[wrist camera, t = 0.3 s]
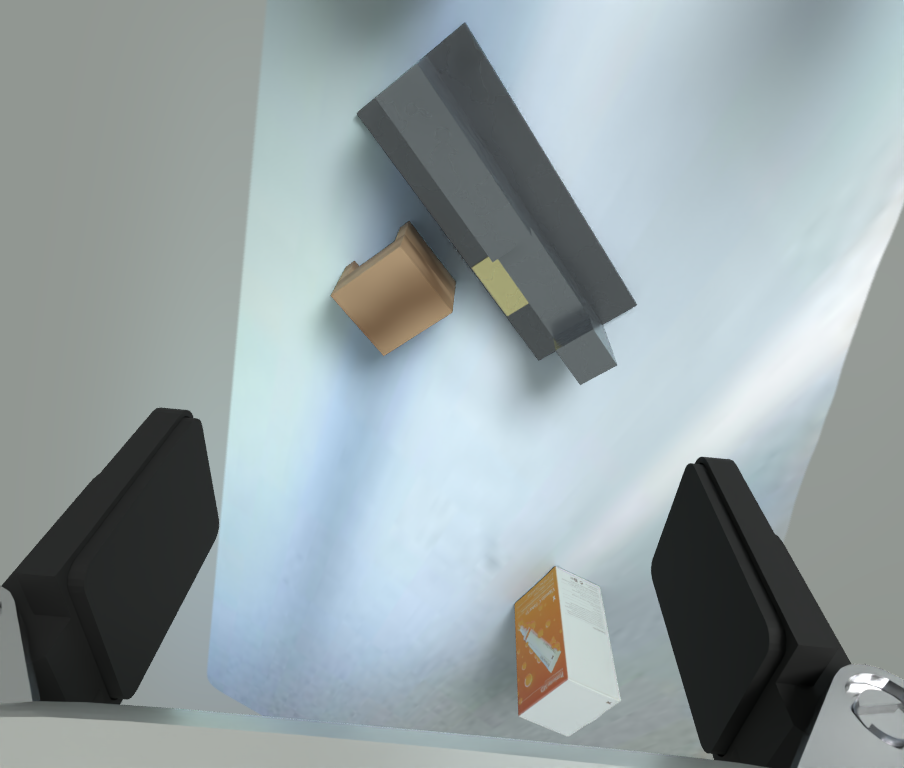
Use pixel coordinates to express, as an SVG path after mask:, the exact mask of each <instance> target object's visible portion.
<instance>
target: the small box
mask: <svg viewBox="0 0 904 768" xmlns="http://www.w3.org/2000/svg"><path fill="white" fill-rule="evenodd" d="M515 630H516V659H517V687H518V716H519V717H521V718H523V719H526V720H528V721H531V722H533V723H536V724H538V725H541V726H543V727H546V728H548V729H550V730H553V731H555V732H558V733H560V734H563V735H565V736H567V737H568V736H570V735H572V734H573V733H575V732H576V731H578V730H579V729H581V728H582V727H584V726H585V725H587V724H589V723H591V722H593V721H594V720H596V719H597V718H599V717H600V716H601V715H602V714H603V713H604V712H606V711H607V710H609V709H610V708H612V707H613V706H615V705H616V704H618V703H619V702H621V698H620V693H619V687H618V682H617V676H616V671H615V666H614V660H613V655H612V649H611V644H610V639H609V633H608V628H607V622H606V617H605V611H604V606H603V601H602V595H601V590H600V587H599V586H597V585H595V584H593V583H591V582H589V581H587V580H585V579H582V578H580V577H578V576H576V575H574V574H572V573H570V572H567V571H565V570H563V569H561V568H559V567H556V566H555V567H554V568H553V569H552V570H551V571H550V572H549V573H548V574H547V575H546V576H545V577H544V578H543V579H542V580H540V581H539V582H538V583H537V584H536V585H535V586H534V587H533V588H532V589H531V590H530V591H528V592H527V593H526V594H525V595H524V596H523V597H522V598H521V599H520V600H518V601H517V602H516V603H515Z"/></svg>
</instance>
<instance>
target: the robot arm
mask: <svg viewBox="0 0 904 768" xmlns="http://www.w3.org/2000/svg"><path fill="white" fill-rule="evenodd" d="M218 529H219V518H218V512H217V507H216V501H215V496H214V490H213V484H212V479H211V473H210V467H209V461H208V456H207V451H206V444H205V440H204V433H203V428H202V423H201V421H200V420H199V419H196V418H193V415H192V413H191V412H190V411H188V410H180V409H168V408H156V409H155V410H154V411H153V412H152V413H151V414H150V415H149V417H148V418H147V419H146V420H145V421H144V422H143V424H142V425H141V426H140V427H139V428H138V429H137V431H136V432H135V433H134V434H133V435H132V437H131V438H130V439H129V440H128V441H127V442H126V444H125V445H124V446H123V447H122V448H121V450H120V451H119V452H118V453H117V454H116V455H115V456H114V458H113V459H112V460H111V461H110V462H109V463H108V465H107V466H106V467H105V468H104V469H103V470H102V472H101V473H100V474H99V475H97V476H96V477H95V478H94V479H93V480H92V481H91V482H90V483H89V484H88V485H87V487H86V488H85V489H84V490H83V491H82V492H81V494H80V495H79V496H78V497H77V498H76V499H75V501H74V502H73V503H72V504H71V505H70V506H69V508H68V509H67V510H66V511H65V512H64V514H63V515H62V516H61V517H60V518H59V519H58V520H57V522H56V523H55V524H54V525H53V526H52V527H51V529H50V530H49V531H48V532H47V533H46V535H45V536H44V537H43V538H42V539H41V540H40V541H39V543H38V544H37V545H36V546H35V547H34V548H33V550H32V551H31V552H30V553H29V554H28V556H27V557H26V558H25V559H24V560H23V561H22V562H21V564H20V565H19V566H18V567H17V568H16V569H15V571H14V572H13V573H12V574H11V575H10V576H9V578H8V579H7V580H6V581H5V582H4V583H3V585H2V586H0V768H904V680H903V679H901V678H900V677H898V676H896V675H894V674H892V673H890V672H888V671H885V670H884V669H881V668H877V667H874V666H870V665H866V664H851V662H850V661H849V659H848V657H847V655H846V654H845V652H844V650H843V648H842V647H841V645H840V643H839V641H838V639H837V638H836V636H835V634H834V632H833V631H832V629H831V627H830V625H829V623H828V622H827V620H826V618H825V616H824V615H823V613H822V611H821V609H820V607H819V606H818V604H817V602H816V600H815V599H814V597H813V595H812V593H811V592H810V590H809V588H808V586H807V584H806V583H805V581H804V579H803V577H802V576H801V574H800V572H799V570H798V568H797V567H796V565H795V563H794V561H793V560H792V558H791V556H790V554H789V553H788V551H787V549H786V547H785V545H784V544H783V542H782V541H781V540H780V538H779V537H778V536H777V535H775V534H774V532H773V530H772V528H771V526H770V525H769V523H768V521H767V519H766V517H765V516H764V514H763V512H762V510H761V509H760V507H759V505H758V503H757V501H756V500H755V498H754V496H753V494H752V492H751V491H750V489H749V487H748V485H747V483H746V482H745V480H744V478H743V476H742V474H741V473H740V471H739V469H738V467H737V465H736V464H735V463H734V461H732V460H730V459H720V458H709V457H700V458H698V459H697V460H696V462H695V464H691V463H690V464H688V465H687V466H686V468H685V471H684V473H683V476H682V479H681V482H680V485H679V487H678V490H677V493H676V496H675V498H674V501H673V504H672V507H671V510H670V512H669V515H668V518H667V521H666V524H665V526H664V529H663V532H662V535H661V537H660V540H659V543H658V546H657V549H656V551H655V554H654V557H653V560H652V565H651V574H652V580H653V584H654V587H655V590H656V594H657V597H658V601H659V604H660V607H661V611H662V614H663V618H664V621H665V624H666V628H667V631H668V635H669V638H670V641H671V645H672V648H673V652H674V655H675V658H676V662H677V665H678V669H679V672H680V675H681V679H682V682H683V686H684V689H685V692H686V696H687V699H688V703H689V706H690V709H691V713H692V716H693V720H694V723H695V726H696V730H697V733H698V737H699V740H700V743H701V746H702V748H703V749H704V751H705V752H706V753H711V754H713V758H714V760H709V759H701V758H692V757H684V756H675V755H666V754H658V753H649V752H640V751H630V750H619V749H609V748H599V747H589V746H579V745H569V744H558V743H548V742H538V741H528V740H518V739H507V738H497V737H487V736H476V735H465V734H454V733H444V732H433V731H422V730H412V729H401V728H390V727H379V726H368V725H357V724H347V723H336V722H325V721H313V720H302V719H290V718H279V717H268V716H256V715H245V714H233V713H221V712H210V711H199V710H187V709H174V708H161V707H146V706H132V705H120V703H121V702H122V700H123V699H130V698H131V697H132V696H133V695H134V694H135V692H136V690H137V689H138V687H139V685H140V683H141V681H142V679H143V677H144V675H145V673H146V671H147V669H148V668H149V666H150V664H151V662H152V660H153V658H154V656H155V654H156V652H157V650H158V649H159V647H160V645H161V643H162V641H163V639H164V637H165V635H166V633H167V631H168V629H169V627H170V625H171V624H172V622H173V620H174V618H175V616H176V614H177V612H178V610H179V608H180V606H181V604H182V603H183V600H184V599H185V597H186V595H187V593H188V591H189V589H190V587H191V585H192V583H193V582H194V580H195V578H196V575H197V574H198V572H199V570H200V568H201V566H202V564H203V562H204V560H205V558H206V557H207V555H208V553H209V551H210V549H211V547H212V545H213V543H214V541H215V539H216V537H217V534H218Z"/></svg>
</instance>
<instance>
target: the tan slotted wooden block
mask: <svg viewBox="0 0 904 768" xmlns="http://www.w3.org/2000/svg"><path fill="white" fill-rule="evenodd" d="M455 285H456V282H455V280H454V279H453V278H452V276H451V275H450V274H449V273H448V271H447V270H446V269H445V267H444V266H443V265H442V263H441V262H440V261H439V259H438V258H437V257H436V255H435V254H434V253H433V251H432V250H431V249H430V247H429V246H428V245H427V244H426V242H425V241H424V240H423V238H422V237H421V236H420V234H419V233H418V232H417V230H416V229H415V228H414V226H413V225H412V224H411V222H410V221H409V222H407V223H406V224H404V225H403V226H402V227H400V229H399V232H398V234H397V237H396V239H395V241H394V242H393V243H391V244H390V245H389V246H387V247H386V248H384V249H383V250H382V251H380V252H379V253H377V254H376V255H375V256H373V257H372V258H371V259H369V260H368V261H366V262H365V263H364V264H362V265H361V266H358V264H357V263H356V262H355V261H353V262H352V263H351V264H349V265H348V266H346V268H345V270H344V271H343V273H342V275H341V277H340V279H339V281H338V283H337V285H336V286H335V288H334V290H333V292H332V294H331V297H332V298H333V299H334V300H335V301H336V302H337V304H338V305H339V306H340V307H341V308H342V309H343V310H344V312H345V313H346V314H347V315H348V316H349V317H350V318H351V319H352V321H353V322H354V323H355V324H356V325H357V326H358V327H359V329H360V330H361V331H362V332H363V333H364V334H365V335H366V336H367V338H368V339H369V340H370V341H371V342H372V343H373V344H374V346H375V347H376V348H377V349H378V350H379V351H380V352H381V353H382V355H383V356H385V355H386V354H388V353H389V352H391V351H392V350H394V349H396V348H397V347H399V346H400V345H402V344H403V343H405V342H407V341H408V340H410V339H411V338H413V337H414V336H416V335H418V334H419V333H421V332H422V331H424V330H425V329H427V328H429V327H430V326H432V325H433V324H435V323H437V322H438V321H440V320H441V319H443V318H444V317H446V316H448V315H449V314H451V313H452V311H453V302H454V294H455Z"/></svg>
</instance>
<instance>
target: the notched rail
mask: <svg viewBox="0 0 904 768" xmlns="http://www.w3.org/2000/svg"><path fill="white" fill-rule="evenodd" d="M357 115H358V116H359V117H360V119H361V120H362V121H363V123H364V124H365V126H366V127H367V128H368V130H369V131H370V132H371V134H372V135H373V136H374V138H375V139H376V140H377V142H378V143H379V145H380V146H381V147H382V149H383V150H384V151H385V153H386V154H387V155H388V157H389V158H390V159H391V161H392V162H393V164H394V165H395V166H396V168H397V169H398V170H399V172H400V173H401V174H402V176H403V177H404V178H405V180H406V181H407V183H408V184H409V185H410V187H411V188H412V189H413V191H414V192H415V193H416V195H417V196H418V197H419V199H420V200H421V202H422V203H423V204H424V206H425V207H426V208H427V210H428V211H429V212H430V214H431V215H432V216H433V218H434V219H435V221H436V222H437V223H438V225H439V226H440V227H441V229H442V230H443V231H444V233H445V234H446V235H447V237H448V238H449V240H450V241H451V242H452V244H453V245H454V246H455V248H456V249H457V250H458V252H459V253H460V254H461V256H462V257H463V259H464V260H465V261H466V263H467V264H468V265H469V267H470V268H471V269H472V271H473V272H474V273H475V275H476V276H477V277H478V279H479V280H480V282H481V283H482V284H483V286H484V287H485V288H486V290H487V291H488V292H489V294H490V295H491V296H492V298H493V299H494V301H495V302H496V303H497V305H498V306H499V307H500V309H501V310H502V311H503V313H504V314H505V315H506V317H507V318H508V320H509V321H510V322H511V324H512V325H513V326H514V328H515V329H516V330H517V332H518V333H519V334H520V336H521V337H522V339H523V340H524V341H525V343H526V344H527V345H528V347H529V348H530V349H531V351H532V352H533V353H534V355H535V356H536V358H537V359H538V360H541V359H542V358H544V357H546V356H548V355H550V354H551V353H553V352H555V351H556V352H557V353H558V355H559V356H560V357H561V359H562V360H563V362H564V363H565V364H566V366H567V367H568V369H569V370H570V371H571V373H572V374H573V376H574V377H575V378H576V380H577V381H578V383H579V384H580V385H581V384H583V383H585V382H587V381H589V380H591V379H592V378H594V377H596V376H598V375H600V374H602V373H604V372H606V371H607V370H609V369H611V368H613V367H615V366H617V363H616V360H615V357H614V355H613V352H612V349H611V346H610V343H609V341H608V338H607V335H606V332H605V329H604V326H603V324H604V323H606V322H608V321H610V320H612V319H613V318H615V317H617V316H619V315H620V314H622V313H624V312H626V311H628V310H629V309H631V308H633V307H635V306H636V305H637V304H636V302H635V300H634V299H633V297H632V295H631V294H630V292H629V291H628V289H627V287H626V286H625V284H624V282H623V281H622V279H621V277H620V276H619V274H618V272H617V271H616V269H615V268H614V266H613V264H612V263H611V261H610V259H609V258H608V256H607V254H606V253H605V251H604V249H603V248H602V246H601V245H600V243H599V241H598V240H597V238H596V236H595V235H594V233H593V231H592V230H591V228H590V226H589V225H588V223H587V222H586V220H585V218H584V217H583V215H582V213H581V212H580V210H579V208H578V207H577V205H576V203H575V202H574V200H573V199H572V197H571V195H570V194H569V192H568V190H567V189H566V187H565V185H564V184H563V182H562V180H561V179H560V177H559V176H558V174H557V172H556V171H555V169H554V167H553V166H552V164H551V162H550V161H549V159H548V157H547V156H546V154H545V153H544V151H543V149H542V148H541V146H540V144H539V143H538V141H537V139H536V138H535V136H534V134H533V133H532V131H531V130H530V128H529V126H528V125H527V123H526V121H525V120H524V118H523V116H522V115H521V113H520V111H519V110H518V108H517V107H516V105H515V103H514V102H513V100H512V98H511V97H510V95H509V93H508V92H507V90H506V88H505V87H504V85H503V84H502V82H501V80H500V79H499V77H498V75H497V74H496V72H495V70H494V69H493V67H492V65H491V64H490V62H489V61H488V59H487V57H486V56H485V54H484V52H483V51H482V49H481V47H480V46H479V44H478V42H477V41H476V39H475V38H474V36H473V34H472V33H471V31H470V29H469V28H468V26H467V24H466V23H464V24H463V25H461V26H460V27H459V28H458V29H457V30H455V31H454V32H453V33H452V34H451V35H449V36H448V37H447V38H446V39H445V40H443V41H442V42H441V43H440V44H439V45H437V46H436V47H435V48H434V49H433V50H431V51H430V52H429V53H428V54H427V55H426V56H424V57H423V58H422V59H421V60H420V61H418V62H417V63H416V64H415V65H414V66H412V67H411V68H410V69H409V70H408V71H406V72H405V73H404V74H403V75H402V76H400V77H399V78H398V79H397V80H396V81H394V82H393V83H392V84H391V85H390V86H388V87H387V88H386V89H385V90H384V91H383V92H381V93H380V94H379V95H378V96H377V97H375V98H374V99H373V100H372V101H371V102H369V103H368V104H367V105H366V106H365V107H363V108H362V109H361V110H360V111H359V112H357Z"/></svg>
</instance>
